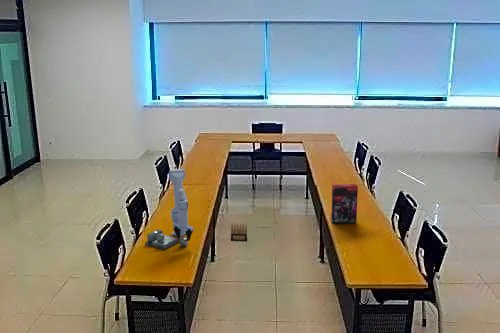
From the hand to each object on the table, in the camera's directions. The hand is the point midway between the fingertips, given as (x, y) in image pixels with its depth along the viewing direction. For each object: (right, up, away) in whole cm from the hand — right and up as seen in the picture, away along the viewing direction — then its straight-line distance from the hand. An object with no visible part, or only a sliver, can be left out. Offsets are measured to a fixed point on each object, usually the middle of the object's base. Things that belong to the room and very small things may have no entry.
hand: (183, 239), depth 329 cm
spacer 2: (0, -4, +1) cm, 5 cm away
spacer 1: (-14, -2, +1) cm, 15 cm away
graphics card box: (+107, +6, +40) cm, 114 cm away
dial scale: (-14, -3, +5) cm, 15 cm away
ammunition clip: (+34, -2, +9) cm, 36 cm away
